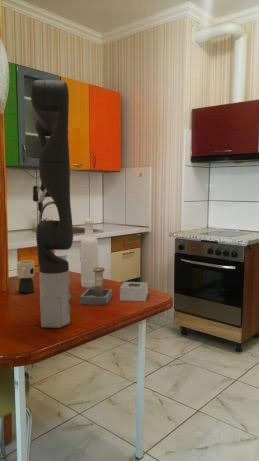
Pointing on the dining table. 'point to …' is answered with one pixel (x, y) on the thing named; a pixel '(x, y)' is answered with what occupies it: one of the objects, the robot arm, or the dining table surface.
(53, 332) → the dining table surface
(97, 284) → the pin
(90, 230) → the bottle
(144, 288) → the hitch block
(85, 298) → the tray
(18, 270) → the character mug
